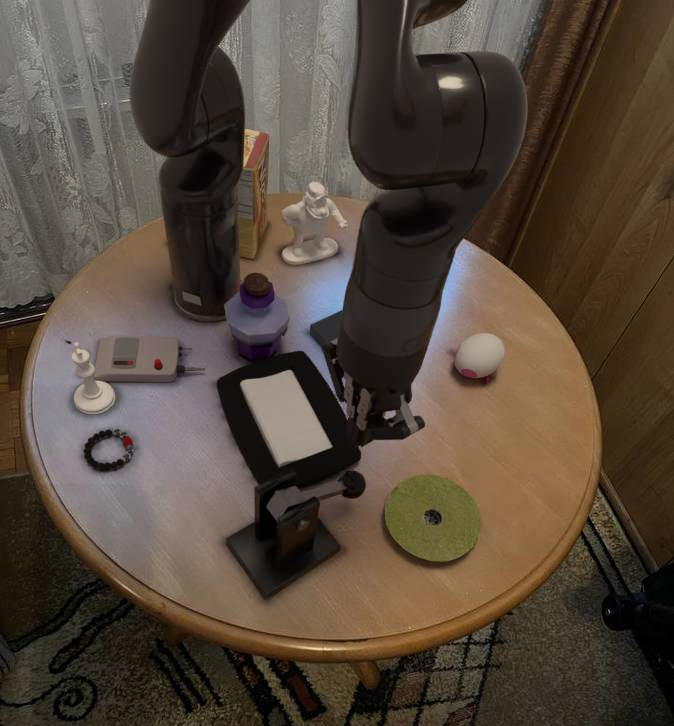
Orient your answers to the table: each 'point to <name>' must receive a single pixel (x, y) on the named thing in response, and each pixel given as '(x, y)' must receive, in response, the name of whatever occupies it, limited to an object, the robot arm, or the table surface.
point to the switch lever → (317, 493)
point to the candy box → (253, 192)
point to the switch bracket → (282, 539)
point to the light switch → (287, 419)
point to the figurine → (311, 226)
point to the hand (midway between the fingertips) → (358, 438)
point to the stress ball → (479, 355)
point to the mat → (432, 517)
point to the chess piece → (90, 386)
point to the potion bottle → (257, 318)
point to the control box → (326, 328)
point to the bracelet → (107, 466)
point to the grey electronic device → (139, 359)
